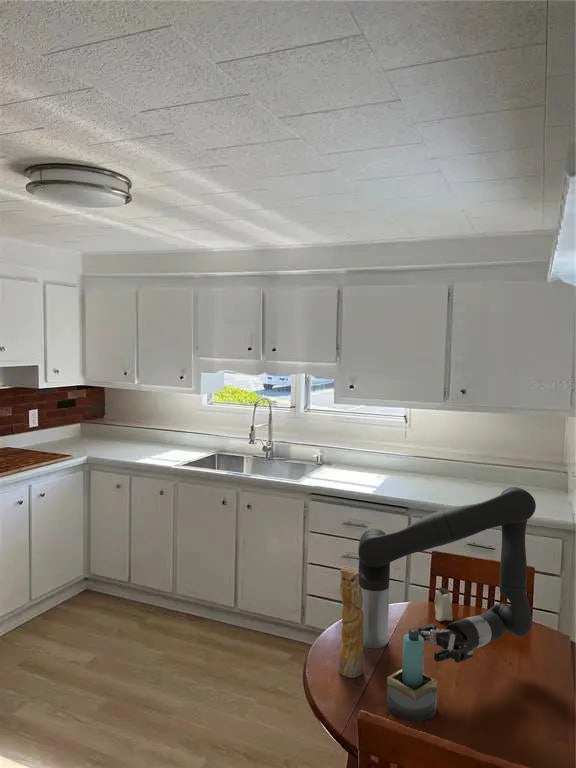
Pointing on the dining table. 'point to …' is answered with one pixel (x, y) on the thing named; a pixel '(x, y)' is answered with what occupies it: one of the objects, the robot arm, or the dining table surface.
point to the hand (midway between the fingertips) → (422, 649)
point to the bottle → (413, 659)
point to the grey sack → (443, 605)
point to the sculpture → (351, 625)
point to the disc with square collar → (411, 698)
